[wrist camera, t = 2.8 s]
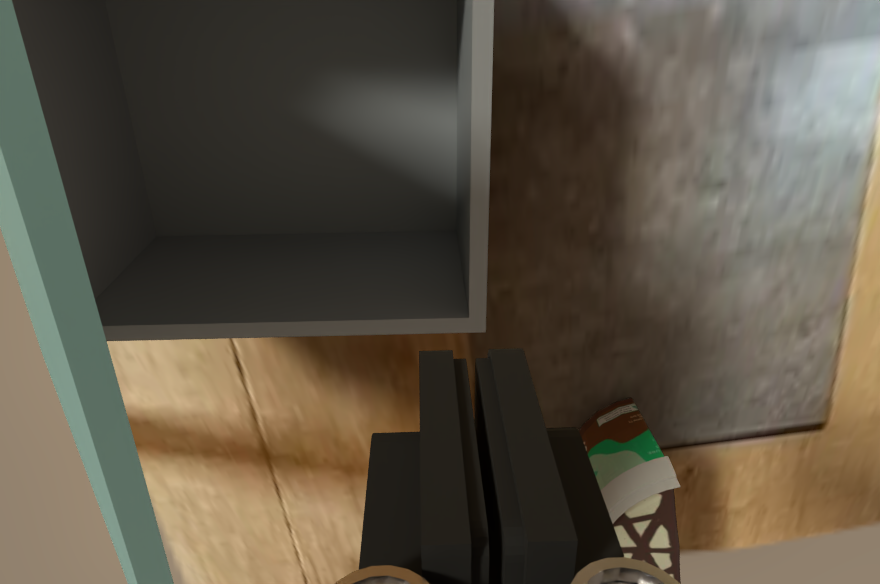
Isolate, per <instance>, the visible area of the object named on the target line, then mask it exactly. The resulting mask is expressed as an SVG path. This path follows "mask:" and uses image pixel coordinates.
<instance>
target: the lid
mask: <svg viewBox="0 0 880 584" xmlns="http://www.w3.org/2000/svg"><path fill="white" fill-rule="evenodd" d="M0 228H1V231H2V234H3V237H4V240H5V243H6V246H7V249H8V252H9V255H10V258H11V261H12V264H13V267H14V270H15V273H16V276H17V279H18V282H19V285H20V288H21V291H22V294H23V297H24V300H25V303H26V306H27V309H28V312H29V315H30V318H31V321H32V324H33V327H34V330H35V333H36V336H37V339H38V342H39V345H40V348H41V351H42V354H43V357H44V360H45V362H46V365H47V367H48V370H49V373H50V376H51V378H52V381H53V384H54V386H55V389H56V392H57V394H58V397H59V400H60V402H61V405H62V408H63V411H64V413H65V416H66V419H67V421H68V424H69V427H70V429H71V432H72V434H73V437H74V440H75V443H76V445H77V448H78V450H79V453H80V456H81V459H82V461H83V464H84V467H85V469H86V472H87V475H88V478H89V480H90V483H91V486H92V488H93V491H94V493H95V496H96V499H97V502H98V504H99V507H100V510H101V512H102V515H103V518H104V520H105V523H106V526H107V528H108V531H109V534H110V536H111V539H112V542H113V544H114V547H115V550H116V552H117V555H118V558H119V561H120V563H121V566H122V569H123V571H124V574H125V577H126V579H127V582H128V584H174V583H173V579H172V576H171V572H170V568H169V565H168V561H167V557H166V554H165V550H164V547H163V543H162V540H161V536H160V532H159V529H158V525H157V521H156V518H155V514H154V511H153V507H152V503H151V500H150V496H149V493H148V489H147V485H146V482H145V478H144V475H143V471H142V467H141V464H140V460H139V457H138V453H137V449H136V446H135V442H134V439H133V435H132V431H131V428H130V424H129V421H128V417H127V413H126V410H125V406H124V403H123V399H122V395H121V392H120V388H119V385H118V381H117V377H116V374H115V370H114V367H113V363H112V359H111V356H110V352H109V349H108V345H107V341H106V338H105V334H104V331H103V327H102V323H101V320H100V316H99V313H98V309H97V305H96V302H95V298H94V295H93V291H92V287H91V284H90V280H89V277H88V273H87V269H86V266H85V262H84V259H83V255H82V251H81V248H80V244H79V241H78V237H77V233H76V230H75V226H74V223H73V219H72V215H71V212H70V208H69V205H68V201H67V197H66V194H65V190H64V187H63V183H62V179H61V176H60V172H59V169H58V165H57V161H56V158H55V154H54V151H53V147H52V143H51V140H50V136H49V133H48V129H47V125H46V122H45V118H44V115H43V111H42V107H41V104H40V100H39V97H38V93H37V89H36V86H35V82H34V79H33V75H32V71H31V68H30V64H29V61H28V57H27V53H26V50H25V46H24V43H23V39H22V35H21V32H20V28H19V25H18V21H17V17H16V14H15V10H14V7H13V3H12V0H0Z"/></svg>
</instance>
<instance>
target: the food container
mask: <svg viewBox="0 0 880 584" xmlns="http://www.w3.org/2000/svg"><path fill="white" fill-rule="evenodd" d="M579 433H580V435H581V437H582V440H583V443H584V445H585V448H586V451H587V454H588V457H589V459H590V462H591V465H592V468H593V470H594V473H595V476H596V479H597V482H598V484H599V487H600V490H601V493H602V496H603V498H604V501H605V504H606V507H607V509H608V512H609V515H610V518H611V521H612V523H613V526H614V529H615V532H616V535H617V537H618V540H619V543H620V546H621V549H622V551H623V554H624V557H626V558H630V559H635V560H640V561H644V562H646V563H649V564H651V565H653V566H655V567H657V568H659V569H662V570H663V571H665V572H666V573H667V574H669V575H670V576H671V577H673V578H674V579H675V580H677V581H678V582H679V583H680V584H681V582H680V563H679V557H680V550H679V539H678V531H677V521H676V511H675V498H674V488H678V487H680V484H679V482H678V480H677V478H676V473H675V471H674V469H673V466H672V464H671V462H670V459H669V457H668V456H665V457H664V455H663V453H662V451H661V449H660V448H659V446H658V444H657V442H656V440H655V439H654V437H653V435H652V433H651V431H650V430H649V428H648V426H647V424H646V423H645V421H644V419H643V417H642V415H641V414H640V412H639V410H638V408H637V406H636V405H635V403H634V401H633V399H632V398H629V399H625V400H621V401H618V402H615V403H613V404H611V405H609V406H607V407H605V408H603V409H601V410H599V411H598V412H596V413H595V414H594V415H593V416H592V417H591V418H590V419H589V420H588V421H586V422H585V423H584V424H583V425H582V427H581V429H580V431H579Z"/></svg>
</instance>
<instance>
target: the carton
mask: <svg viewBox="0 0 880 584" xmlns="http://www.w3.org/2000/svg"><path fill="white" fill-rule="evenodd" d="M12 3H13V7H14V10H15V14H16V17H17V21H18V25H19V28H20V32H21V35H22V39H23V43H24V46H25V50H26V53H27V57H28V61H29V64H30V68H31V71H32V75H33V79H34V82H35V86H36V89H37V93H38V97H39V100H40V104H41V107H42V111H43V115H44V118H45V122H46V125H47V129H48V133H49V136H50V140H51V143H52V147H53V151H54V154H55V158H56V161H57V165H58V169H59V172H60V176H61V179H62V183H63V187H64V190H65V194H66V197H67V201H68V205H69V208H70V212H71V215H72V219H73V223H74V226H75V230H76V233H77V237H78V241H79V244H80V248H81V251H82V255H83V259H84V262H85V266H86V269H87V273H88V277H89V280H90V284H91V287H92V291H93V295H94V298H95V302H96V305H97V309H98V313H99V316H100V320H101V323H102V327H103V331H104V334H105V338H106V341H132V340H175V339H218V338H261V337H304V336H348V335H391V334H434V333H477V332H486V304H487V264H488V225H489V185H490V146H491V106H492V67H493V27H494V0H12Z"/></svg>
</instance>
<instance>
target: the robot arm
mask: <svg viewBox="0 0 880 584" xmlns="http://www.w3.org/2000/svg"><path fill="white" fill-rule="evenodd" d="M419 376H420V432H398V433H373V434H372V439H371V448H370V458H369V469H368V479H367V490H366V500H365V511H364V521H363V531H362V542H361V552H360V563H359V570H357V571H354V572H352V573H350V574H349V575H347V576H345V577H344V578H342V579H340V580H339V581H337V582H336V583H335V584H680V583H679V582H678V581H677V580H675V579H674V578H673V577H671V576H670V575H669V574H667V573H666V572H665V571H663V570H662V569H659V568H657V567H655V566H653V565H651V564H649V563H646V562H644V561H640V560H635V559H630V558H626V557H624V554H623V551H622V549H621V546H620V543H619V540H618V537H617V535H616V532H615V529H614V526H613V523H612V521H611V518H610V515H609V512H608V509H607V507H606V504H605V501H604V498H603V496H602V493H601V490H600V487H599V484H598V482H597V479H596V476H595V473H594V470H593V468H592V465H591V462H590V459H589V457H588V454H587V451H586V448H585V445H584V443H583V440H582V437H581V435H580V433H579V431H578V429H577V428H575V427H571V428H546V427H545V424H544V420H543V417H542V413H541V410H540V406H539V403H538V399H537V396H536V392H535V389H534V385H533V382H532V378H531V375H530V371H529V368H528V364H527V361H526V357H525V354H524V351H523V349H489V351H488V358H476V363H475V419H474V417H473V409H472V401H471V394H470V386H469V378H468V371H467V363H466V359H453V351H452V350H444V351H419Z"/></svg>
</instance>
